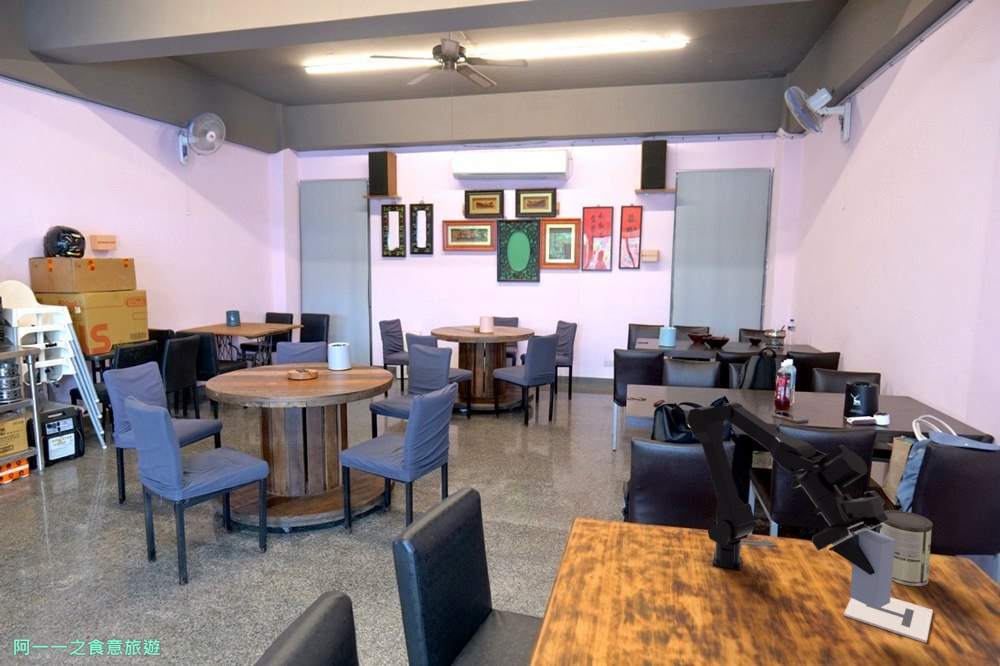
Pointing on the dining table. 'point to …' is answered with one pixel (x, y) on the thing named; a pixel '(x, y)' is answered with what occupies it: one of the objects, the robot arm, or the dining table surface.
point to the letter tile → (894, 617)
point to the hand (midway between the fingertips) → (879, 570)
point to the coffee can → (909, 546)
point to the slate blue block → (881, 558)
